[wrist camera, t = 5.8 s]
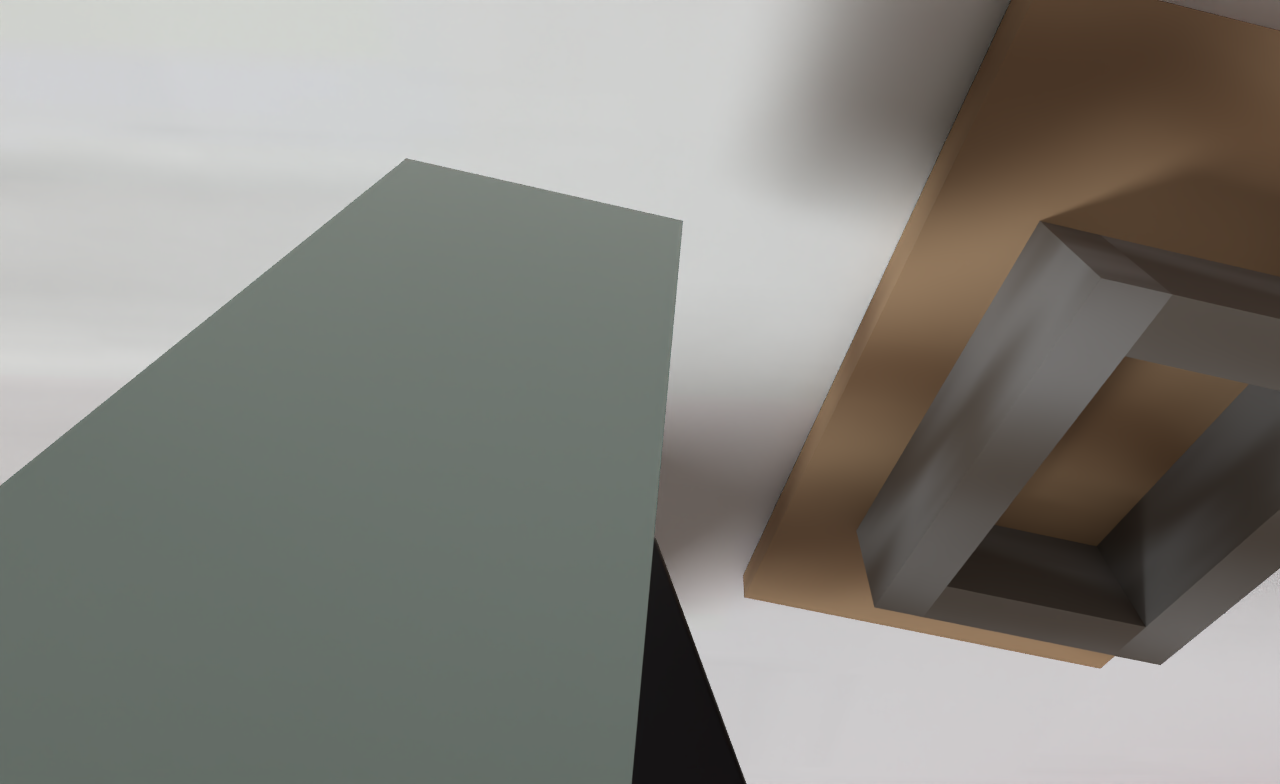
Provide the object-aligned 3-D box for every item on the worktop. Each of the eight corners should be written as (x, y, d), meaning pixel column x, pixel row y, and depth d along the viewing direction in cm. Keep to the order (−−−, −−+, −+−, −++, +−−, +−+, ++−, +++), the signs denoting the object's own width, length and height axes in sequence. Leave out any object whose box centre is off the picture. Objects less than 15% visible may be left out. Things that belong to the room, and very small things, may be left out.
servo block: (612, 505, 13) (459, 1418, 5) (411, 463, 13) (-70, 1348, 5) (683, 220, 9) (543, 1778, 2) (406, 158, 9) (-1347, 1572, 1)
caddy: (1088, 644, 26) (1142, 749, 23) (743, 575, 25) (747, 672, 22) (1647, 125, 14) (1925, 187, 11) (1026, -32, 13) (1125, -15, 10)
